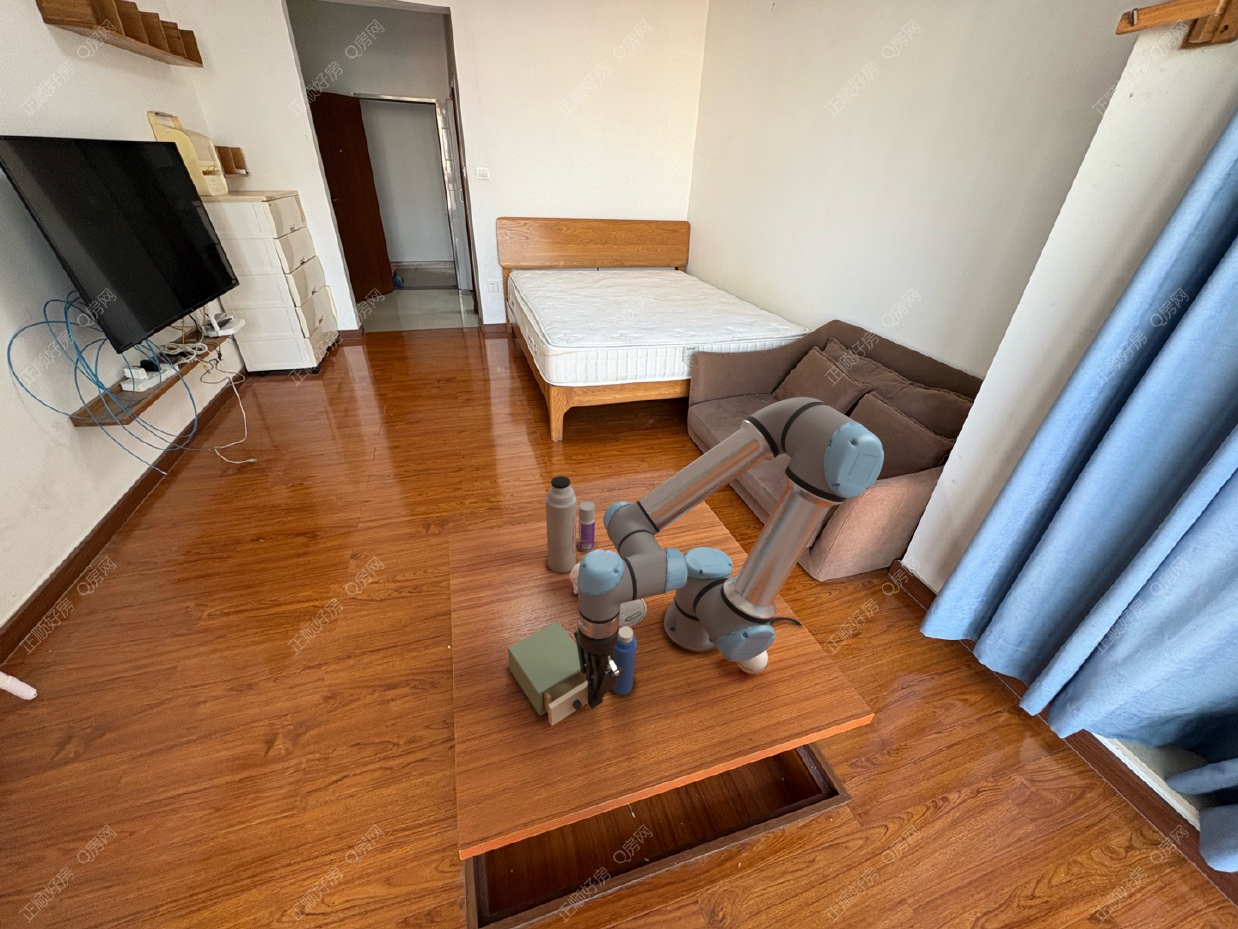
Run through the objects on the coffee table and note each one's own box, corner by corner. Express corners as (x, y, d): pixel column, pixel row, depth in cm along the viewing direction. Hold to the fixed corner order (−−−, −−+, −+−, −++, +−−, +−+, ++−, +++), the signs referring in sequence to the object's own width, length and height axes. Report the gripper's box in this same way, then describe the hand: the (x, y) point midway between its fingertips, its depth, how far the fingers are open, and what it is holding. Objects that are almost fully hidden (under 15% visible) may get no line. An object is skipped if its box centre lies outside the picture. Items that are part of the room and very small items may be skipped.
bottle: (635, 678, 113) (640, 626, 104) (628, 697, 108) (634, 645, 100) (614, 671, 114) (617, 619, 105) (606, 690, 110) (610, 638, 101)
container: (597, 545, 150) (598, 504, 143) (588, 554, 147) (589, 512, 139) (584, 539, 152) (585, 499, 145) (575, 547, 149) (575, 506, 141)
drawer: (601, 700, 107) (602, 683, 104) (554, 731, 100) (554, 713, 97) (566, 655, 116) (566, 639, 113) (522, 681, 109) (520, 664, 106)
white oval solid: (725, 661, 118) (730, 640, 114) (749, 649, 121) (755, 628, 117) (754, 695, 110) (761, 674, 107) (779, 682, 114) (786, 661, 110)
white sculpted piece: (586, 554, 134) (616, 582, 127) (584, 576, 139) (613, 604, 132) (567, 564, 130) (597, 594, 123) (566, 586, 135) (594, 616, 128)
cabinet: (590, 685, 111) (591, 662, 107) (540, 716, 104) (538, 693, 100) (557, 643, 120) (557, 621, 116) (509, 669, 113) (507, 647, 109)
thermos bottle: (579, 556, 146) (580, 474, 131) (571, 574, 139) (571, 491, 125) (552, 551, 147) (550, 470, 133) (543, 569, 140) (540, 486, 126)
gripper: (561, 611, 94) (562, 689, 106) (602, 659, 85) (598, 738, 98) (594, 594, 98) (591, 671, 110) (636, 638, 89) (628, 717, 102)
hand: (595, 703), depth 104 cm, fingers closed
